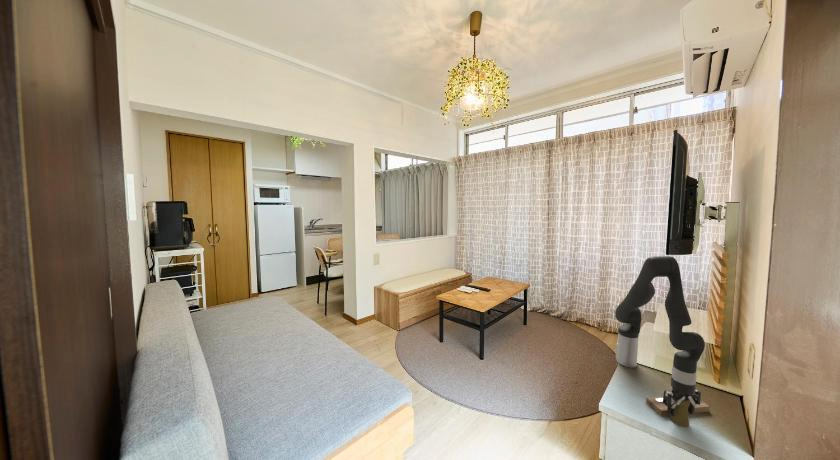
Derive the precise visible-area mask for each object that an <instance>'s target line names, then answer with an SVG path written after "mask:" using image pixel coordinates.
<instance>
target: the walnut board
mask: <svg viewBox="0 0 840 460" xmlns="http://www.w3.org/2000/svg"><path fill="white" fill-rule="evenodd" d="M663 396H664V395H660V396H659V395H658V396H648V397H645V403H646V404H647V406H649V407H650V408H651V409H653V410H654V411H655V412H656V413H657V414H659V415H660V417H665V416H671V415H670V414H669V413H668V412H667V406H666V405H665V404H663V402H658V401H657V400H655V399H658V398H663ZM696 400H697V399H696ZM666 402H667V401H666ZM673 403H674V402H672V403H671V404H673ZM708 412H710V406H709V404H707V403H705V402H704V401H703V400H701V401H700V405H698V404H697V405H696V406H695V409H694V414H697V413H708ZM688 414H690V413H689V412H688Z"/></svg>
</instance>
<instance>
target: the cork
mask: <svg viewBox="0 0 840 460" xmlns="http://www.w3.org/2000/svg"><path fill="white" fill-rule="evenodd" d="M673 400H674V401H677V400H676V399H675V398H673ZM689 406H690V402H689V400H682V401H681V403H680V404H679V405H676V406H675V411H674V416H671V415H669V416H670V417H669V419H670V420H671V421H672V422H673V423H674V424H675V425H677V426H680V427H684V428H688V427H689V426H690V418H689V413H688V407H689Z"/></svg>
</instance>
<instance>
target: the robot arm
mask: <svg viewBox="0 0 840 460" xmlns="http://www.w3.org/2000/svg"><path fill="white" fill-rule="evenodd" d="M664 277H665V278H667V279H668V283H669V288H668V292H667V295H666V297H665V299H664V300H665V301H664V309H665V312H666V314H667V315H666V316H667V318H668V321H669V322H668V323H669V329H668V330H669V331H668V332H669V333H668V337H669V342H670V344H671V346H672V347H673V348H674V349H675V350H677V351H678V352H675V353H674V354H673V362H672V368H671V378H670V386H671V391H667V390H664V391H663V395H662V396H663V404H665V405H666V406H667V412H668V413H669V414H670V415H669V416H674V411H675V406H676V405H679V404H680V403H681V401H682V400H689V402H690V406H689V407H688V412H689V413H688V414H690V415H694V414H695V413H694V409H695V406H696V405H697V404H698V405H700V401H702V400H701V397H702V396H701V395H702V392H701V391H699V390H698V389H697V388H696V385H697V368H698V362H699V360H700V359H701V356H702V355H703V353H704V351H705V349H706V348H705V347H706V343H705V340H704V337H703V336H702V335H701V334H699V333H698V332H694V331H683V328H684V327H687V326H690V325H692V319H691V318H692V317H691V316H690V313H689V310H688V307H687V304H686V303H687V302H686V300H685V296H684V290H683V282H682V275H681V270H680V265H679V263H678V261H677V259H676V258H675V257H673V256H670V255H661V256H660V255H658V256H649V257H647V258H646V259H645V261H644V262H643V264H642V266H641V269H640V271H639V274H638V276H637V278H636V280H635V281H634V283H633V284H632V285H631V288H630V289H629V291H628V292H627V294H626V296H625V297H624V298H623V300H622V301H621V302H620V303H619V305H617V307H616V309H615V311H614V312H615V313H614V316H615V318H616V320H617V322H619V323H620V324H621V323H622V324H623V325H620V326H619V327H618V329H617V331H618V332H617V343H615V344H616V345H615V359H616V362H617V363H618V364H619V365H621V366H623V367H625V368H636V367H637V366H638V354H639V353H638V351H639V350H638V349H639V336H640V335H639V334H640V332H641V326H642V320H643V319H642V312H641V311H642V310H641V309H640V308H642V307H643V306H646V305H647V304H649V303H650V302H651V300H652V299H653V298H654V296H655V294H656V288H655V286H654V285H653V281H654V280H655V278H664ZM673 398H675V399H676V400H677V401H674V400H673ZM696 399H697V400H696ZM666 401H667V402H666ZM672 402H674V403H673V404H671V403H672Z"/></svg>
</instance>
